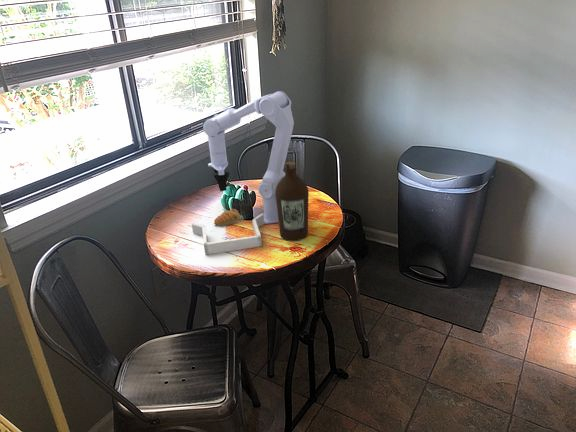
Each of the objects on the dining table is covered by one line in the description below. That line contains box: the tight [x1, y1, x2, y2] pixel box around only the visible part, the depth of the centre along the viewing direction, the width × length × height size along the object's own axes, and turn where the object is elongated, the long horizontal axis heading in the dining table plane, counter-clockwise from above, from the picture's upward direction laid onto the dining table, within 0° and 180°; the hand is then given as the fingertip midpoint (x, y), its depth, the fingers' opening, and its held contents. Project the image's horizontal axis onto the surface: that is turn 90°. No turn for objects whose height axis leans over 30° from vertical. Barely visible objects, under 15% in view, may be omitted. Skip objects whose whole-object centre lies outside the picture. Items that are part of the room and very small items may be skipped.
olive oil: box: [275, 161, 310, 242], centre depth 150 cm, size 11×11×25 cm
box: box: [191, 213, 265, 256], centre depth 155 cm, size 25×16×4 cm, turn 102°
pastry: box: [213, 208, 242, 227], centre depth 166 cm, size 9×7×4 cm
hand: (222, 186), depth 171 cm, fingers open, 7 cm apart
